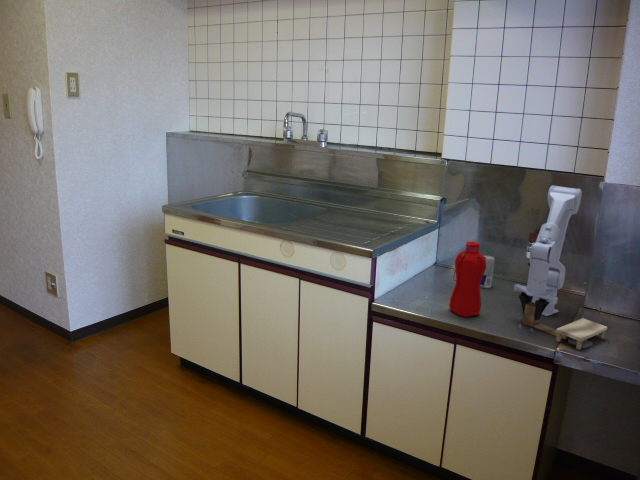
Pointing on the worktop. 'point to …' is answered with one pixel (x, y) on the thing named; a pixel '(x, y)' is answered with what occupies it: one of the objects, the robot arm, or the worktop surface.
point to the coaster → (584, 343)
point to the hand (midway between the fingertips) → (531, 317)
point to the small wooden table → (581, 331)
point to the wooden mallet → (530, 321)
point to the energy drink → (488, 272)
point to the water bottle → (468, 281)
